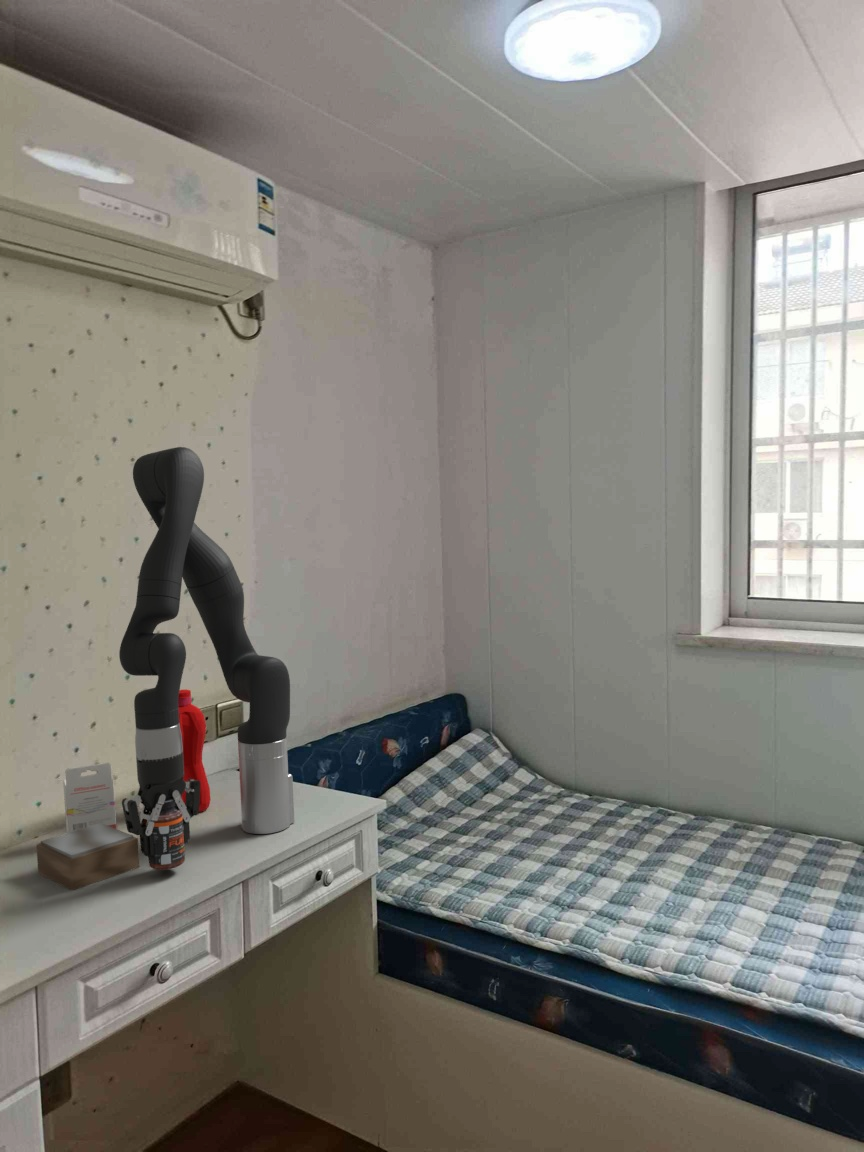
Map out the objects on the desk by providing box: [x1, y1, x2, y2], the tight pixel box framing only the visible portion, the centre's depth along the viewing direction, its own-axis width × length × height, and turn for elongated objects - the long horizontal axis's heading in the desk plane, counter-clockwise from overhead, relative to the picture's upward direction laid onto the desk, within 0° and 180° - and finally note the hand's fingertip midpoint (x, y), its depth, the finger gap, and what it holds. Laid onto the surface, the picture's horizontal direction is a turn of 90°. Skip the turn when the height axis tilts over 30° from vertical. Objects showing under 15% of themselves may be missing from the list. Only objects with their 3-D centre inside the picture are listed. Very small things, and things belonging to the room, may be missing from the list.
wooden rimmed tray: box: [36, 823, 140, 891], centre depth 151 cm, size 12×12×6 cm
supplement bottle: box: [147, 799, 186, 871], centre depth 148 cm, size 6×6×11 cm
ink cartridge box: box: [62, 762, 118, 834], centre depth 166 cm, size 9×5×15 cm, turn 117°
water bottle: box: [178, 689, 211, 813], centre depth 182 cm, size 9×11×25 cm
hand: (166, 849), depth 149 cm, fingers closed on supplement bottle, 6 cm apart
